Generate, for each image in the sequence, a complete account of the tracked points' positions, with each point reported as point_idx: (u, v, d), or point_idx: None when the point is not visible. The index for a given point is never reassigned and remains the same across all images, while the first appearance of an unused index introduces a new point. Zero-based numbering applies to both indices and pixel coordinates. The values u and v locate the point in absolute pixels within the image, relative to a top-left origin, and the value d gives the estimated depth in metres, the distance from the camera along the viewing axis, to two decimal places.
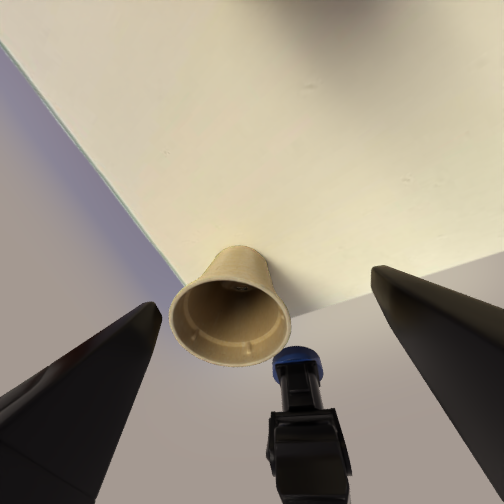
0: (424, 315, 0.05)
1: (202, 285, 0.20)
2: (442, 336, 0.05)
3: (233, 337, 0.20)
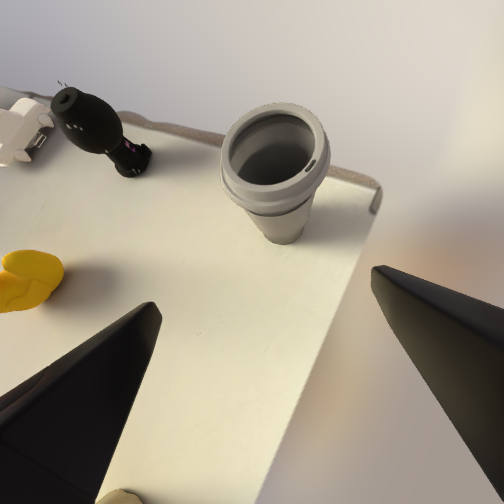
0: (424, 315, 0.05)
1: None
2: (442, 336, 0.05)
3: None
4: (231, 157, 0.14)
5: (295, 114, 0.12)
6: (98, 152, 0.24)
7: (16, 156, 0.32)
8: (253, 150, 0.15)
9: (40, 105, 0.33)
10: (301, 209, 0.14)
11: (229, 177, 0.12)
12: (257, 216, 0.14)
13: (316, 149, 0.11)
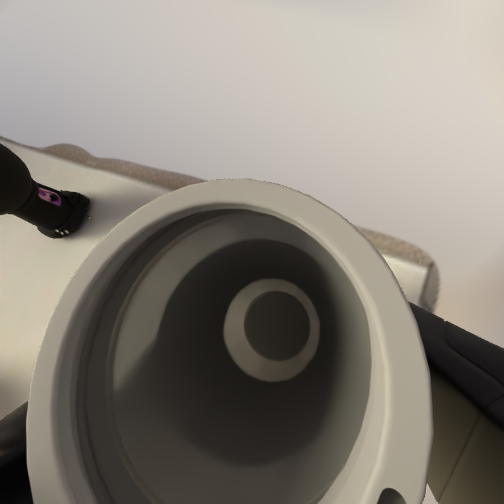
0: None
1: None
2: None
3: None
4: (125, 304, 0.05)
5: (289, 220, 0.03)
6: None
7: None
8: (196, 258, 0.07)
9: None
10: None
11: (35, 492, 0.03)
12: None
13: (394, 420, 0.02)
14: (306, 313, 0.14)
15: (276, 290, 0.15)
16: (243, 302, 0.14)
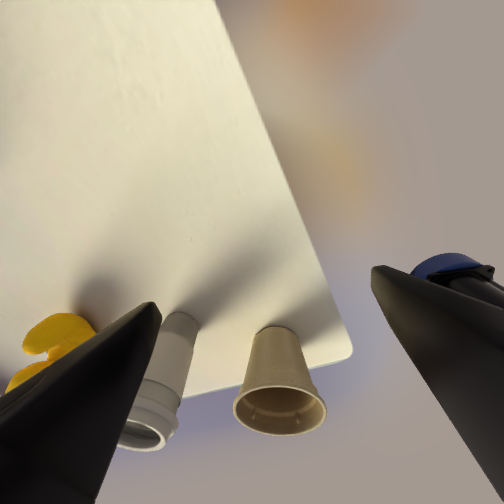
0: (424, 315, 0.05)
1: None
2: (442, 336, 0.05)
3: None
4: (141, 428, 0.20)
5: None
6: None
7: None
8: None
9: None
10: (169, 380, 0.20)
11: (159, 448, 0.18)
12: (180, 402, 0.21)
13: (128, 420, 0.16)
14: (173, 313, 0.27)
15: None
16: None
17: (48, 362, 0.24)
